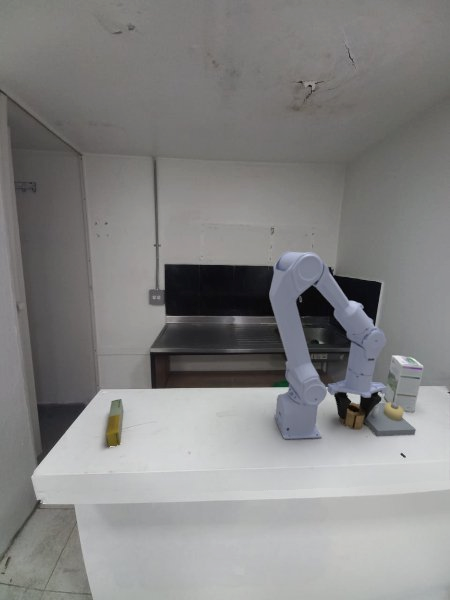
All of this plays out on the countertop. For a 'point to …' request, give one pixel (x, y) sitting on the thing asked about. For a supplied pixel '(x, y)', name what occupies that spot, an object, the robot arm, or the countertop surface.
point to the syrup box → (404, 382)
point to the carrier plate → (388, 420)
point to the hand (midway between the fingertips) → (351, 416)
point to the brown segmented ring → (354, 416)
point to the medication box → (115, 423)
